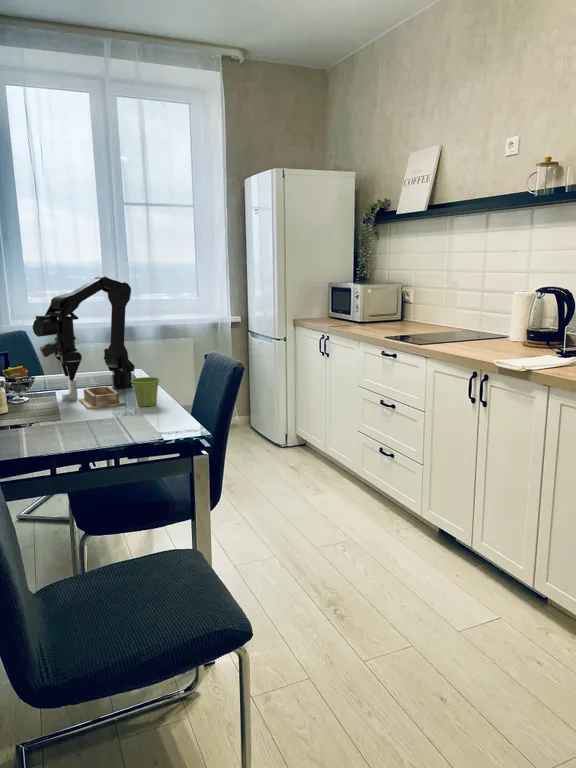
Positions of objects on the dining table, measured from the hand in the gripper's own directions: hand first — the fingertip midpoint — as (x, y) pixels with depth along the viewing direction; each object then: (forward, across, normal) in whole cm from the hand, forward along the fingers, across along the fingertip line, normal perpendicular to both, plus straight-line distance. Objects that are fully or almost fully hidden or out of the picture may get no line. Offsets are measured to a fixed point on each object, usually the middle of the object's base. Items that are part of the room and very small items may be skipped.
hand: (69, 378), depth 204 cm
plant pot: (+8, +24, +20) cm, 32 cm away
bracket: (+7, 0, 0) cm, 7 cm away
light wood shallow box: (+7, +12, +8) cm, 16 cm away
